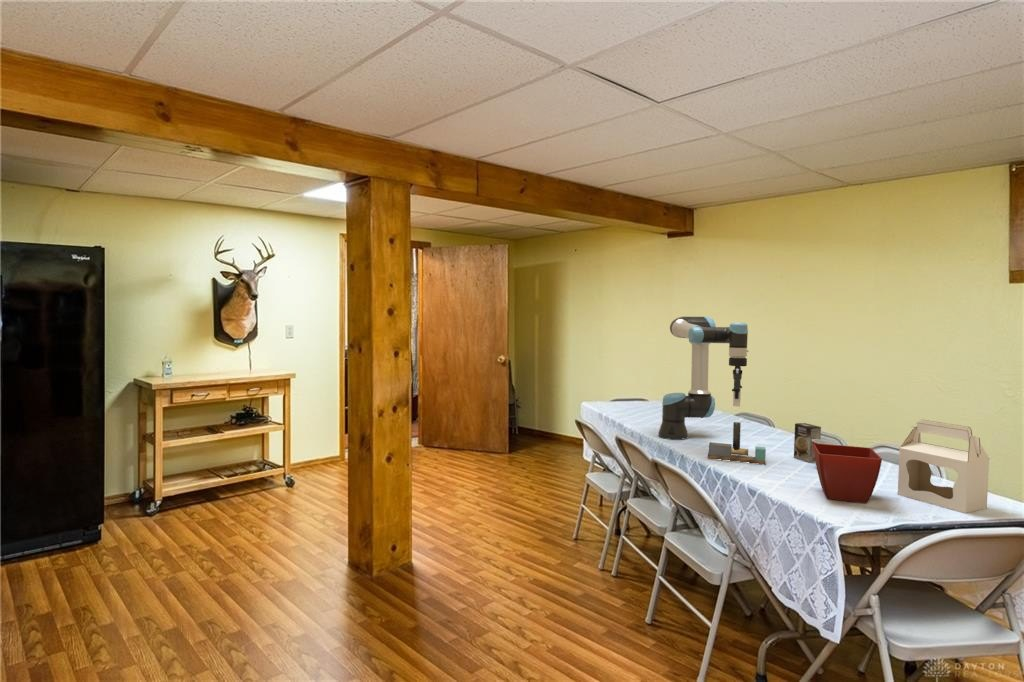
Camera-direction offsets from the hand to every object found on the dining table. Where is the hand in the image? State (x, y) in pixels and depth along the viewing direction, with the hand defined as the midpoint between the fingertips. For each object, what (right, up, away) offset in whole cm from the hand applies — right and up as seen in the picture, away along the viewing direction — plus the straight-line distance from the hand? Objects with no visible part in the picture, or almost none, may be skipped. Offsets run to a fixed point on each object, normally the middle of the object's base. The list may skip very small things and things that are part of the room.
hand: (736, 404), depth 253 cm
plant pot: (+19, -28, -50) cm, 60 cm away
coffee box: (+33, -26, +3) cm, 42 cm away
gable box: (+51, -29, -53) cm, 79 cm away
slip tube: (-2, -23, +2) cm, 23 cm away
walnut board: (0, -25, +1) cm, 25 cm away
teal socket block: (+9, -24, -3) cm, 26 cm away
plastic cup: (+33, -27, -12) cm, 44 cm away
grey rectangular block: (-6, -24, +3) cm, 25 cm away
